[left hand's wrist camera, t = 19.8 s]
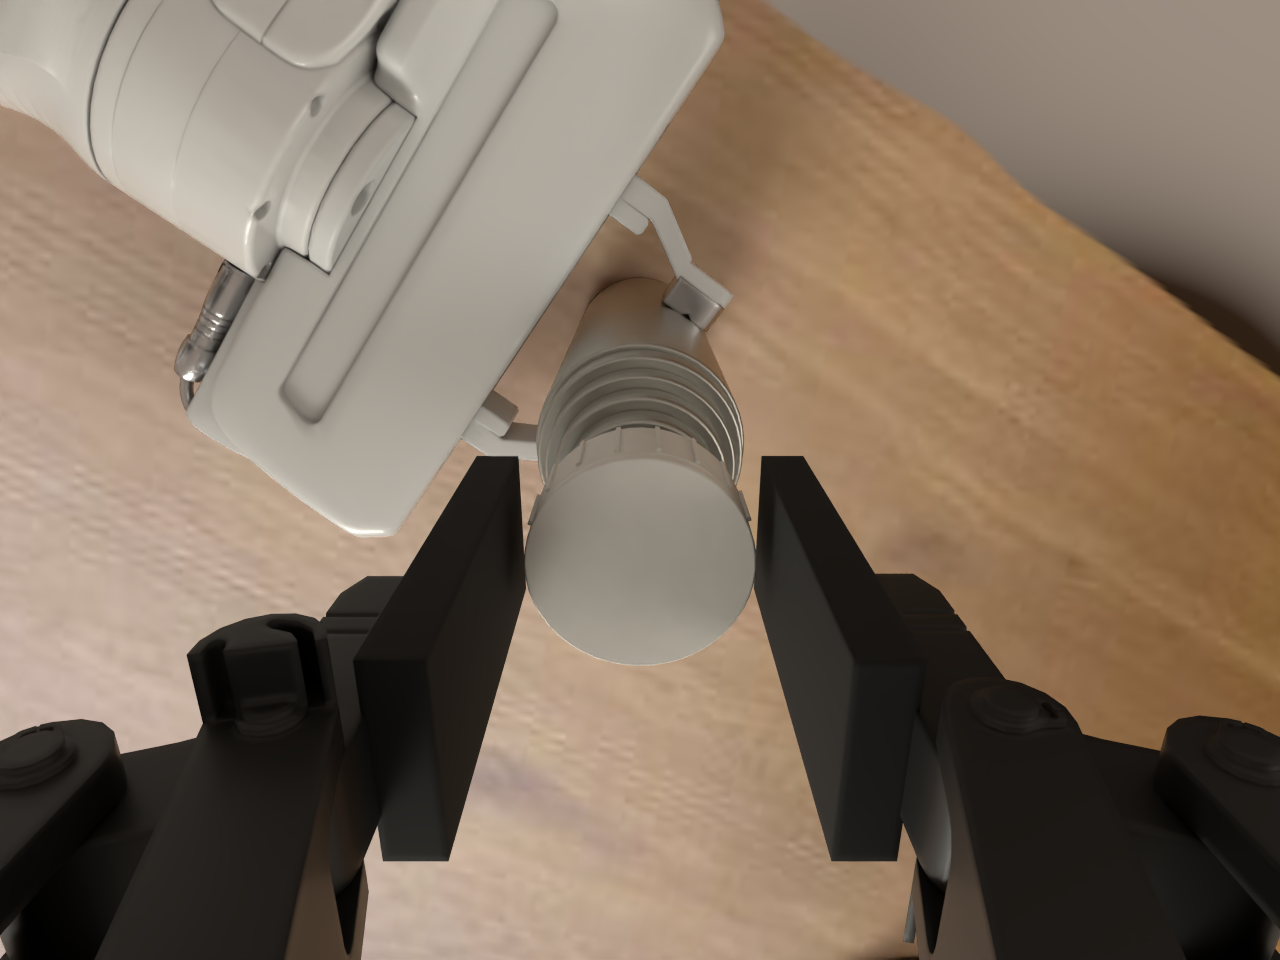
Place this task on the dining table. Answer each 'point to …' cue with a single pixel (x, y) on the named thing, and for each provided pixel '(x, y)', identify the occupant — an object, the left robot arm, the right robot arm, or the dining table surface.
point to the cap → (640, 548)
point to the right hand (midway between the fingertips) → (662, 389)
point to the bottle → (638, 379)
